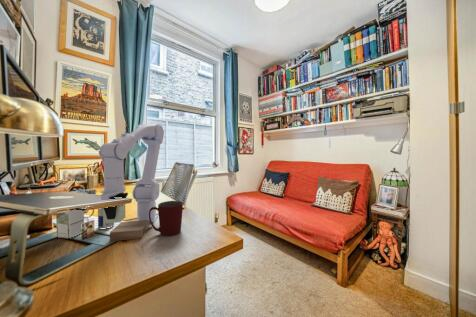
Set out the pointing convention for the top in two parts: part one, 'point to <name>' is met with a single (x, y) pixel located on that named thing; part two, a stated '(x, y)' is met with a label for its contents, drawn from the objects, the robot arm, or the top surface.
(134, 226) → the walnut base
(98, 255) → the top surface
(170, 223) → the mug
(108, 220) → the sage block
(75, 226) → the syrup box
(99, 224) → the energy drink
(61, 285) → the top surface
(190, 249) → the top surface
